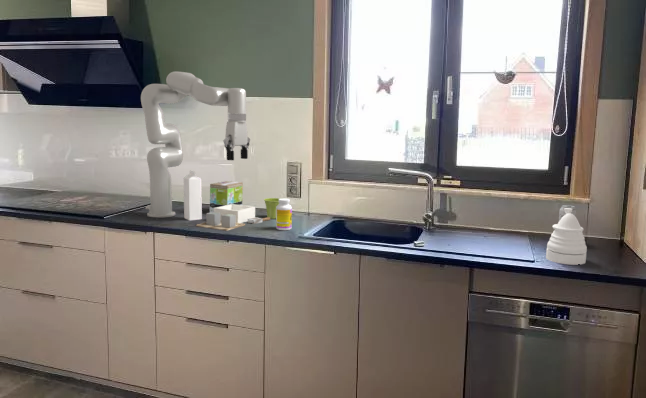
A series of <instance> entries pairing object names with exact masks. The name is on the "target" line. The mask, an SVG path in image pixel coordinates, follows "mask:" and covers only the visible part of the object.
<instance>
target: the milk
mask: <svg viewBox="0 0 646 398" xmlns="http://www.w3.org/2000/svg"><path fill="white" fill-rule="evenodd" d="M202 190H203V189H202V177H199V176H198V175H197V174H196V171H194V170H189V174H186V176H184V177H183V211H184V212H183V213H184V214H183V216H184V219H185V220H188V221H196V220H202V219H203V211H202V210H203V209H202V208H203V206H202V204H203V203H202V202H203V201H202V200H203V199H202V198H203V195H202Z"/></svg>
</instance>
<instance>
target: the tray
mask: <svg viewBox="0 0 646 398" xmlns="http://www.w3.org/2000/svg"><path fill="white" fill-rule="evenodd" d="M220 222H221V220H220ZM243 226H246V223H244V222H243V223H236V226H234V227H230V228H225V227H221V224H220V225H216V226H211V225H206V222H201V223H197V224H196V225H195V227H198V228H206V229H213V230H218V231H219V230H220V231H231V230H234V229H237V228H242V227H243Z"/></svg>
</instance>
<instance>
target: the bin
mask: <svg viewBox="0 0 646 398" xmlns="http://www.w3.org/2000/svg"><path fill="white" fill-rule="evenodd" d="M214 212H216V213H220V220H221V215H225V214H232V215H236V223H243V224H244V223H246V222H247V219H249V218H255V217H256V206H251V205H243V204H242V205H235V204H230V205H225V206H221V207H216V208H214Z"/></svg>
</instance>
